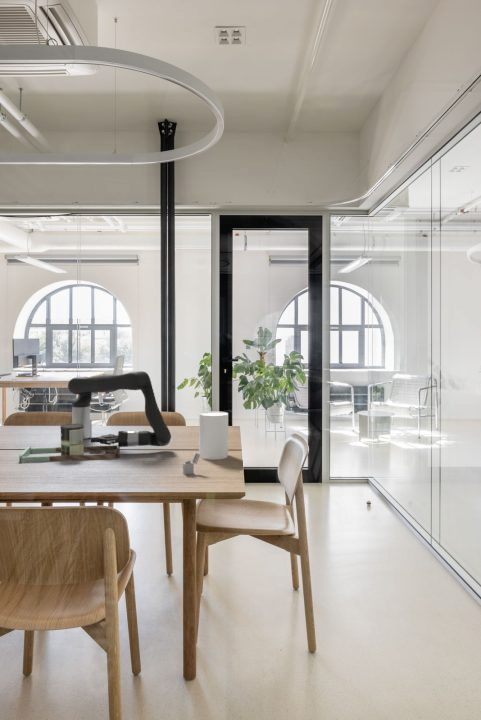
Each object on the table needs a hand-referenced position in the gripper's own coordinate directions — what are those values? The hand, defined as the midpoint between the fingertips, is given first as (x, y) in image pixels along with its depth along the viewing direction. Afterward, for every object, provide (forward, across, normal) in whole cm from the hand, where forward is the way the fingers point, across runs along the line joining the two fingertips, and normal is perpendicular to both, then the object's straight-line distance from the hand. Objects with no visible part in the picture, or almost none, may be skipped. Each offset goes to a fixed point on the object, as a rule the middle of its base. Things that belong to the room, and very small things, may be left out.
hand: (90, 439), depth 236 cm
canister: (-56, +12, +7) cm, 58 cm away
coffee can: (+8, 0, +7) cm, 11 cm away
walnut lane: (+8, 0, +7) cm, 11 cm away
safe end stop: (+23, 0, +7) cm, 24 cm away
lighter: (-43, +40, +7) cm, 59 cm away
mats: (-5, 0, +7) cm, 9 cm away
